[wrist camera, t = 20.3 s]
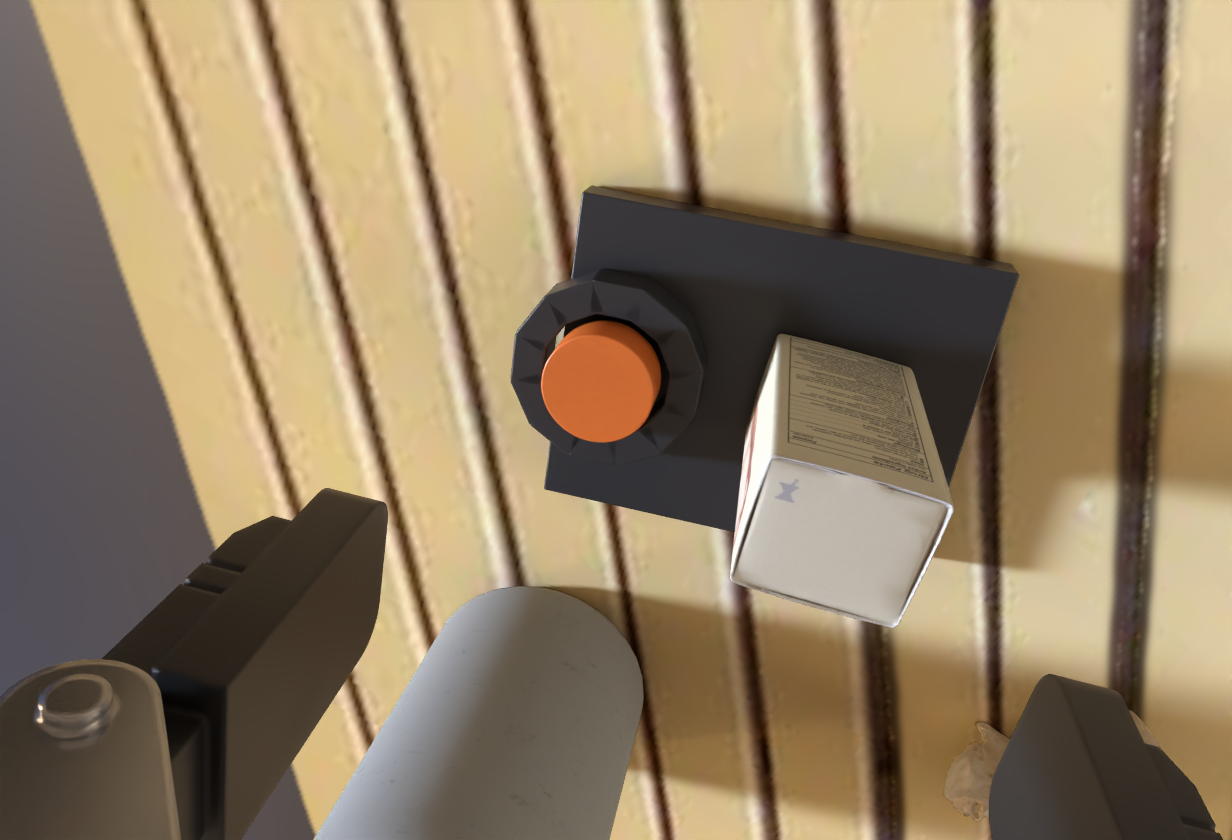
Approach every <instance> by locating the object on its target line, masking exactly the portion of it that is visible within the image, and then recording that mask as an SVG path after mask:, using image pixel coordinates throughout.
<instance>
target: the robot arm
mask: <svg viewBox="0 0 1232 840" xmlns="http://www.w3.org/2000/svg"><path fill="white" fill-rule="evenodd" d="M387 523H388V510H387V506H386V504H385V503H384V502H381V501H377V500H373V499H369V498H365V497H361V496H357V495H353V494H350V493H346V492H342V491H338V490H334V489H330V488H325V489H323V490H321V491H320V492H319V493H318V494H317V495H316V496H315V497H314V498H313V499H312V500H311V501H310V502H309V503H308V504H307V505H306V506H305V508H304V509H303V510H302V511H301V512H300V513H299V514H298V515H297V516H296V517H295V518H294V519H293V520H292V521H290V520H286V519H283V518H279V517H275V516H271V517H269V518H266V519H264V520H262V521H260V522H257V523H255V524H253V525H251V526H249V527H246V528H244V529H242V530H240V531H237V532H235V533H233V534H232V535H231V536H230V537H229V538H228V539H227V540H226V541H225V542H224V543H223V544H222V545H221V546H220V547H219V548H218V549H217V550H215V551H214V552H213V553H212V554H211V555H210V556H209V557H208V559H207V562H206V564H204V563H202V564H201V565H200V566H199V567H198V568H197V569H196V570H194V571H193V572H192V573H191V574H190V575H189V576H188V577H187V578H186V581H185V583H184V585H182V584H180V585H179V586H178V587H177V588H176V589H175V590H174V591H172V592H171V593H170V594H169V595H168V596H167V597H166V598H165V599H164V600H163V601H162V602H161V603H160V604H159V605H158V606H157V607H156V608H155V609H154V610H153V611H151V613H149V614H148V615H147V616H146V617H145V618H144V619H143V620H142V621H141V622H140V623H139V624H138V625H137V626H136V627H135V628H134V629H133V630H132V631H130V632H129V633H128V634H127V635H126V636H125V637H124V638H123V639H122V640H121V641H120V642H119V643H118V644H117V645H116V646H115V647H114V648H113V649H112V650H111V651H109V652H108V653H107V654H106V655H105V656H104V657H103V658H102V659H95V660H94V659H88V660H78V661H72V662H67V663H62V664H58V665H55V666H51V667H48V668H45V669H43V670H40V671H38V672H35V673H33V674H31V675H29V676H27V677H25V678H24V679H22V680H20V681H18V682H17V683H16V684H14V685H13V686H11V687H10V688H9V689H8V690H6V691H5V692H4V693H3V694H2V695H1V696H0V840H241V839H242V837H243V836H244V835H245V833H246V831H247V830H248V828H249V827H250V825H251V824H252V822H253V821H254V819H255V818H256V816H257V815H258V813H259V812H260V810H261V809H262V807H263V806H264V804H265V803H266V801H267V799H268V798H269V796H270V795H271V793H272V792H273V790H274V789H275V787H276V786H277V784H278V783H279V781H280V780H281V778H282V777H283V775H284V774H285V772H286V771H287V769H288V768H289V766H290V764H291V763H292V761H293V760H294V758H295V757H296V755H297V754H298V752H299V751H300V749H301V748H302V746H303V745H304V743H305V742H306V740H307V739H308V737H309V736H310V734H311V732H312V731H313V729H314V728H315V726H316V725H317V723H318V722H319V720H320V719H321V717H322V716H323V714H324V713H325V711H326V710H327V708H328V707H329V705H330V704H331V702H332V700H333V699H334V697H335V696H336V694H337V693H338V691H339V690H340V688H341V687H342V685H343V684H344V682H345V681H346V679H347V678H348V676H349V675H350V673H351V672H352V670H353V668H354V667H355V665H356V664H357V662H358V661H359V659H360V658H361V656H362V655H363V653H364V651H365V649H366V647H367V645H368V643H369V640H370V638H371V635H372V632H373V629H374V626H375V623H376V619H377V615H378V609H379V603H380V593H381V583H382V573H383V563H384V553H385V543H386V533H387ZM989 823H990V828H991V833H992V837H993V840H1223V839H1222V837H1221V835H1220V833H1216V832H1215V826H1216V825H1215V823H1214V821H1213V820H1212V818H1211V816H1210V814H1209V812H1208V810H1207V808H1206V806H1205V804H1204V802H1203V800H1202V798H1201V796H1200V794H1199V792H1198V790H1197V789H1196V787H1195V785H1194V784H1193V783H1192V782H1191V781H1190V780H1189V779H1188V778H1187V777H1186V775H1185V774H1184V773H1183V772H1182V771H1181V770H1180V769H1179V768H1178V767H1177V766H1176V765H1175V764H1174V763H1173V762H1172V760H1171V759H1170V758H1169V757H1168V756H1167V755H1166V754H1165V753H1164V752H1163V751H1162V750H1161V749H1160V748H1159V747H1158V746H1154V745H1150V744H1146V743H1144V741H1143V738H1142V736H1141V734H1140V732H1139V730H1138V728H1137V726H1136V724H1135V722H1134V720H1133V718H1132V715H1131V713H1130V711H1129V709H1128V707H1127V705H1126V703H1125V701H1124V699H1123V697H1122V696H1121V695H1120V694H1119V693H1118V692H1117V691H1115V690H1112V689H1108V688H1104V687H1100V686H1096V685H1092V684H1088V683H1084V682H1080V681H1076V680H1072V679H1068V678H1065V677H1061V676H1057V675H1053V674H1048V675H1045V676H1044V677H1043V678H1042V679H1041V680H1040V681H1039V682H1038V683H1037V685H1036V687H1035V689H1034V690H1033V693H1032V695H1031V697H1030V699H1029V701H1028V703H1027V705H1026V707H1025V709H1024V711H1023V713H1022V716H1021V718H1020V720H1019V722H1018V724H1017V726H1016V728H1015V730H1014V732H1013V734H1012V737H1011V739H1010V741H1009V743H1008V745H1007V747H1006V749H1005V751H1004V753H1003V755H1002V758H1001V760H1000V762H999V764H998V766H997V768H996V771H995V773H994V776H993V780H992V784H991V788H990V795H989Z"/></svg>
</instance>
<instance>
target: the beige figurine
mask: <svg viewBox="0 0 1232 840" xmlns="http://www.w3.org/2000/svg"><path fill="white" fill-rule="evenodd" d="M1129 711H1130V713H1131V715H1132V718H1133V720H1134V722H1135V724H1136V726H1137V728H1138V730H1139V732H1140V734H1141V736H1142V738H1143V741H1144V743H1146V744H1150V745H1154V746H1158V747H1159V748H1160V746H1159V744H1158V742H1157V740H1156V739H1155V737H1154V736H1153V735H1152V733H1151V732H1150V731H1149V730H1148V729H1147V728H1146V726H1145V725H1144V723H1143V722H1142V721H1141V720H1140V719H1139V718H1138V716H1137V715H1136V714H1135V713H1134V712H1133V711H1131V710H1129ZM976 726H977V728H978V730H979V732H980V734H981V735H982V737H983V743H982V745H981V744H980V743H978V742H974V743H971V744H969V745H968V746H967V747H966V749H965V750H964V751H963V752H962V753H961V754H960V755H959V756H958V757H957V758H956V759H955V760H954V761H953V762H952V764H951V767H950V769H949V771H948V774H947V777H946V783H945V788H944V792H943V796H945V797H946V798H947V799H948V801H949V802H951V803H952V804H953V807H954V808H956V809H957V810H958V811H959V813H961V814H963V815H964V816H971V817H972V818H973V820H974V821H980V820H982V819H983V818H985V817H986V816H987V815H988V814H989V795H990V788H991V784H992V780H993V776H994V773H995V771H996V768H997V766H998V764H999V762H1000V760H1001V758H1002V755H1003V753H1004V751H1005V749H1006V747H1007V745H1008V743H1009V741H1010V739H1009V738H1007V737H1006V736H1004V735H1002V734H1000V733H999V732H998V731H996V730H995V729H994V728H992V727H991V726H990V725H988V724H987V723H983V722H979V723H976ZM1160 749H1161V748H1160Z"/></svg>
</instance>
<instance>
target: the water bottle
mask: <svg viewBox="0 0 1232 840" xmlns="http://www.w3.org/2000/svg"><path fill="white" fill-rule="evenodd" d="M643 700H644V695H643V681H642V674H641V671H640V668H639V664H638V661H637V658H636V656H635V654H634V653H633V651H632V649H631V647H630V645H629V644H628V642H627V640H626V639H625V638H624V636H623V635H622V634H621V633H620V632H619V630H618V629H617V628H616V627H615V626H614V624H613V623H612V622H611V621H609V620H608V619H607V618H606V617H605V616H603V615H602V614H601V613H600V612H599V611H598V610H596V609H595V608H593V607H591V606H589V605H588V604H586V603H584V602H583V601H581V600H579V599H577V598H575V597H572V596H570V595H567V594H565V593H562V592H560V591H555V590H550V589H546V588H541V587H527V586H517V587H509V588H502V589H496V590H493V591H490V592H487V593H484V594H481V595H478V596H477V597H475V598H473V599H472V600H470V601H468V602H467V603H465V604H463V605H462V606H461V607H460V608H459V609H458V610H457V611H456V612H455V613H454V614H453V615H452V616H451V617H450V618H449V619H447V621H446V623H445V624H444V626H443V628H442V629H441V631H440V633H439V634H438V636H437V638H436V639H435V641H434V642H433V644H432V646H431V647H430V649H429V651H428V652H427V654H426V656H425V657H424V659H423V661H422V662H421V664H420V665H419V667H418V669H417V670H416V672H415V674H414V675H413V677H412V679H411V680H410V682H409V684H408V685H407V687H406V689H405V690H404V692H403V693H402V695H401V697H400V698H399V700H398V702H397V703H396V705H395V707H394V708H393V710H392V712H391V713H390V715H389V716H388V718H387V720H386V721H385V723H384V725H383V726H382V728H381V730H380V731H379V733H378V735H377V736H376V738H375V739H374V741H373V743H372V744H371V746H370V748H369V749H368V751H367V753H366V754H365V756H364V758H363V759H362V761H361V763H360V764H359V766H358V767H357V769H356V771H355V772H354V774H353V776H352V777H351V779H350V781H349V782H348V784H347V786H346V787H345V789H344V790H343V792H342V794H341V795H340V797H339V799H338V800H337V802H336V804H335V805H334V807H333V809H332V810H331V812H330V813H329V815H328V817H327V818H326V820H325V822H324V823H323V825H322V827H321V828H320V830H319V832H318V833H317V835H316V837H315V838H314V840H609V839H610V835H611V831H612V827H613V823H614V819H615V815H616V811H617V807H618V803H619V799H620V796H621V792H622V788H623V784H624V780H625V776H626V772H627V768H628V764H629V760H630V756H631V752H632V748H633V744H634V740H635V736H636V732H637V728H638V724H639V720H640V717H641V711H642V706H643Z"/></svg>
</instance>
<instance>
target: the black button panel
mask: <svg viewBox="0 0 1232 840" xmlns="http://www.w3.org/2000/svg"><path fill="white" fill-rule="evenodd" d="M1018 278H1019V273H1018V272H1017V271H1016V269H1015V268H1014V267H1013V265H1012V264H1008V263H1003V262H998V261H992V260H987V259H982V258H976V257H971V256H966V255H960V254H955V253H950V252H944V251H939V250H934V249H928V248H923V247H917V246H912V245H907V244H901V243H896V242H891V241H885V240H880V239H875V238H869V237H864V236H859V235H853V234H848V233H843V232H837V231H832V230H827V229H821V228H816V227H811V226H805V225H800V224H794V223H789V222H784V221H778V220H773V219H768V218H762V217H757V216H752V215H746V214H741V213H736V212H730V211H725V210H720V209H714V208H709V207H704V206H698V205H693V204H688V203H682V202H677V201H671V200H666V199H661V198H655V197H650V196H645V195H639V194H634V193H629V192H623V191H618V190H613V189H607V188H602V187H597V186H590V187H589V188H588V189H586V190H585V191H584V192H583V193H582V200H581V207H580V215H579V223H578V231H577V238H576V246H575V254H574V261H573V269H572V277H571V279H570V280H567V281H564V282H561V283H558V284H556V285H555V286H554V287H553V288H552V289H551V290H550V291H549V292H548V293H547V294H546V295H545V296H544V298H543V299H542V300H541V301H540V303H539V304H538V305H537V306H536V308H535V309H534V310H533V311H532V313H531V314H530V315H529V316H528V318H527V319H526V320H525V321H524V323H523V324H522V325H521V326H520V328H519V329H518V330H517V332H516V334H515V341H514V351H513V360H512V369H511V383H512V386H513V388H514V390H515V392H516V395H517V397H518V399H519V401H520V404H521V406H522V408H523V410H524V413H525V415H526V417H527V419H528V422H529V424H531V426H532V427H533V428H535V429H536V430H537V431H538V432H540V433H541V434H542V435H543V436H545V437H546V438H547V439H548V440H549V441H550V447H549V454H548V462H547V470H546V478H545V485H544V489H546V490H550V491H555V492H559V493H563V494H568V495H572V496H577V497H581V498H586V499H590V500H594V501H599V502H603V503H608V504H612V505H617V506H621V507H625V508H630V509H634V510H639V511H643V512H648V513H652V514H656V515H661V516H665V517H670V518H674V519H679V520H683V521H687V522H692V523H696V524H701V525H705V526H710V527H714V528H718V529H723V530H727V531H732V532H735V526H736V517H737V508H738V499H739V490H740V481H741V473H742V463H743V454H744V445H745V436H746V430H747V426H748V422H749V419H750V415H751V412H752V408H753V405H754V401H755V398H756V395H757V392H758V389H759V386H760V383H761V380H762V377H763V374H764V371H765V368H766V366H767V363H768V360H769V357H770V354H771V352H772V349H773V346H774V344H775V341H776V338H777V336H778V335H779V334H786V335H791V336H795V337H799V338H803V339H808V340H812V341H816V342H820V343H823V344H828V345H832V346H835V347H839V348H843V349H847V350H850V351H854V352H858V353H862V354H865V355H869V356H872V357H876V358H880V359H883V360H886V361H889V362H893V363H896V364H900V365H903V366H907V367H909V368H911V369H912V371H913V373H914V376H915V380H916V383H917V387H918V390H919V393H920V396H921V400H922V403H923V406H924V410H925V413H926V416H927V420H928V423H929V426H930V429H931V432H932V435H933V438H934V442H935V446H936V449H937V452H938V456H939V459H940V462H941V465H942V468H943V472H944V475H945V479H946V482H947V485H948V488H949V485H950V482H951V479H952V476H953V473H954V470H955V467H956V464H957V461H958V458H959V455H960V452H961V449H962V446H963V443H964V440H965V437H966V434H967V431H968V428H969V425H970V422H971V419H972V416H973V413H974V410H975V407H976V404H977V401H978V398H979V395H980V392H981V389H982V386H983V383H984V380H985V377H986V374H987V371H988V368H989V365H990V362H991V359H992V356H993V353H994V350H995V347H996V344H997V341H998V338H999V335H1000V332H1001V329H1002V326H1003V323H1004V320H1005V317H1006V314H1007V311H1008V308H1009V305H1010V302H1011V299H1012V296H1013V293H1014V290H1015V287H1016V284H1017V281H1018ZM599 320H606V321H614V322H618V323H622V324H624V325H627V326H629V327H631V328H632V329H634V330H636V331H637V332H638V333H640V334H641V335H642V336H643V337H644V338H645V339H646V340H647V341H648V342H649V343H650V344H651V346H652V347H653V349H654V351H655V353H656V355H657V357H658V360H659V363H660V368H661V385H660V389H659V393H658V395H657V397H656V400H655V402H654V405H653V407H652V410H651V412H650V414H649V416H648V418H647V420H646V421H645V422H644V424H643V425H642V426H641V427H640V428H639V429H638V430H637V431H635V432H634V433H633V434H631V435H629V436H627V437H625V438H623V439H620V440H617V441H612V442H592V441H587V440H584V439H581V438H578V437H576V436H574V435H572V434H571V433H569V432H567V431H566V430H565V429H563V428H562V427H561V426H560V425H559V424H558V423H557V422H556V421H555V420H554V419H553V417H552V416H551V414H550V413H549V411H548V409H547V407H546V405H545V402H544V399H543V395H542V388H541V379H542V373H543V369H544V366H545V364H546V362H547V360H548V358H549V357H550V355H551V354H552V353H553V351H554V350H555V343H556V336H557V335H558V333H559V332H560V331H561V330H562V329H563V327H564V326H565V331H564V337H565V336H566V335H567V334H568V333H569V332H571V331H572V330H573V329H575V328H576V327H578V326H580V325H582V324H585V323H588V322H592V321H599Z"/></svg>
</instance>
